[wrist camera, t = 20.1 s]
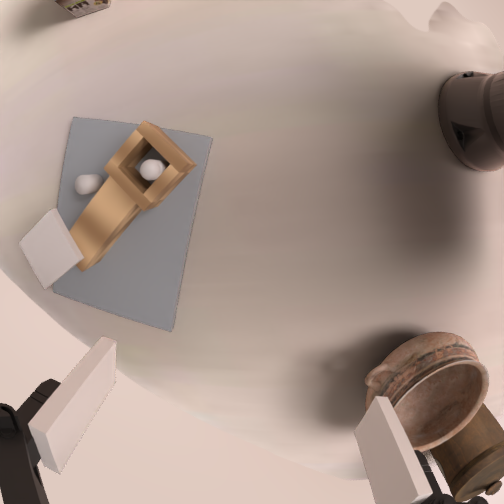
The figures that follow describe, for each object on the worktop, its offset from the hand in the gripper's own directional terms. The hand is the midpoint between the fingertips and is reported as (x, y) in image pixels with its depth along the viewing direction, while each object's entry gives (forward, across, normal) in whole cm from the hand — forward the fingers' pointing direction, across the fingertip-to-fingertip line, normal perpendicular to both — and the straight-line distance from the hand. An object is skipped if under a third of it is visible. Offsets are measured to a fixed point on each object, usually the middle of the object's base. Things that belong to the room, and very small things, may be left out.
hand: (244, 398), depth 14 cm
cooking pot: (+27, +29, -12) cm, 41 cm away
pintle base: (+27, -19, 0) cm, 33 cm away
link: (+25, -17, +3) cm, 31 cm away
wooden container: (+27, +50, -25) cm, 62 cm away
